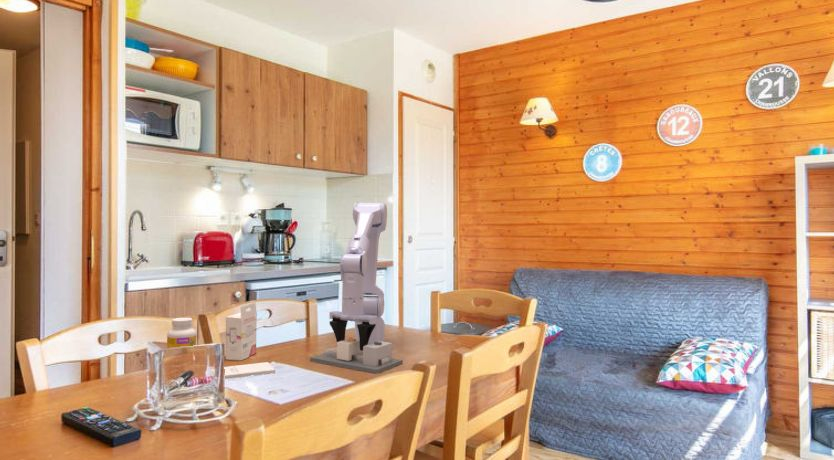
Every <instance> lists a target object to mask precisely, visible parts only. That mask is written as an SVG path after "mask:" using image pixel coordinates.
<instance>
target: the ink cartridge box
mask: <svg viewBox="0 0 834 460" xmlns="http://www.w3.org/2000/svg"><path fill="white" fill-rule="evenodd" d="M239 309H240V312H238V313H235V314H231V315H228V316H225V361H226V360H230V361H243V360H245V359H248V358H250V357H252V356H253V355H256V354H257V322H258V321H257V320H258V319H257V305H256V302H252V303H248V304H244V305H241V306H240V308H239ZM247 309H249V310H247Z"/></svg>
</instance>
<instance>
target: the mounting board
mask: <svg viewBox="0 0 834 460" xmlns="http://www.w3.org/2000/svg"><path fill="white" fill-rule="evenodd" d="M309 361H310V362H312V363H316V364H317V363H318V364H323V365H329V366H333V367H338V368H343V369H344V368H345V369H350V370H354V371H361V372H365V373H370V374H375V375H376V374H377V375H378V374H380V373H382V372H385V371H388V370H390V369H392V368H395V367H397V366H400V365H403V363H404V362H403V361H404V360H403V359H399V358H393V357H392V361H390V362H389V363H387V364H384V365H378V366H376V367H375V366H369V365H364V364H363V362H360V361H355V360H350V361H347V360H341V359H337V357H332V356H327V355H325V352H323V353H320V354H318V355H314V356H311V357H309Z"/></svg>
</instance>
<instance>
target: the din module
mask: <svg viewBox="0 0 834 460" xmlns="http://www.w3.org/2000/svg"><path fill="white" fill-rule="evenodd" d="M336 348H337V359H341V360H347V361H350V360H352V355H354V354H358V353H361V352H363V351H361V350H360V338H355V337H348V338H347V339H345V340H343V341H340V342H337V341H336Z"/></svg>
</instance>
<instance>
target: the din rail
mask: <svg viewBox="0 0 834 460" xmlns="http://www.w3.org/2000/svg"><path fill="white" fill-rule="evenodd" d="M324 353H325V355H327V356H332V357H337V347H329V348H326V349H324ZM352 360H355V361H360V362H363V352H361V353H358V354H354V355H352ZM387 363H389V357H385V358H382V359H379V361H378V365H384V364H387Z"/></svg>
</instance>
